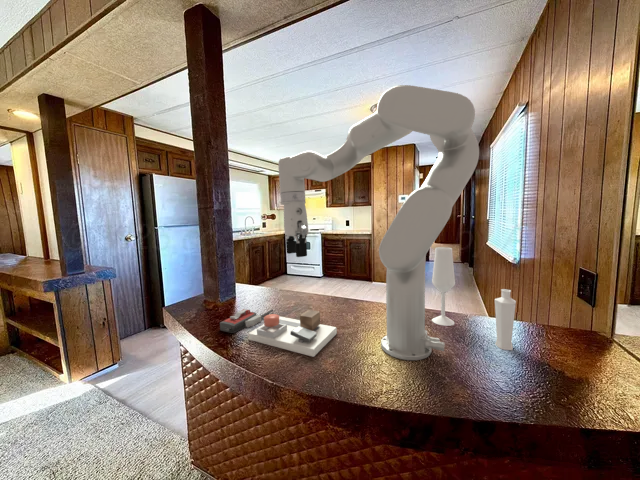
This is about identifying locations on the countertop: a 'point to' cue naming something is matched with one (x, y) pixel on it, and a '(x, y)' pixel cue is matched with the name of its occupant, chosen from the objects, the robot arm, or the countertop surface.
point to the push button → (271, 320)
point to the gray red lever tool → (241, 320)
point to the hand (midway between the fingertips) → (296, 254)
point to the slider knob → (310, 319)
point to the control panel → (284, 340)
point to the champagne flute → (443, 280)
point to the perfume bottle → (504, 319)
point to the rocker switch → (303, 333)
